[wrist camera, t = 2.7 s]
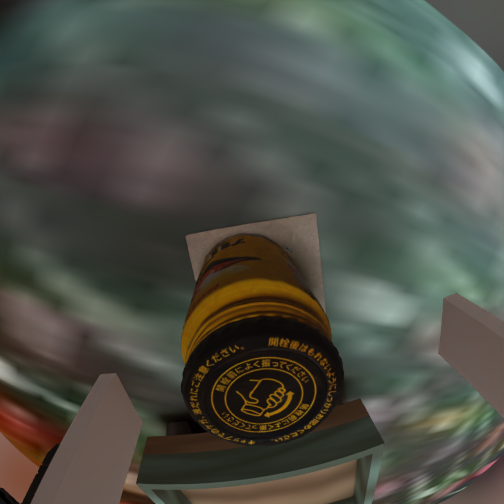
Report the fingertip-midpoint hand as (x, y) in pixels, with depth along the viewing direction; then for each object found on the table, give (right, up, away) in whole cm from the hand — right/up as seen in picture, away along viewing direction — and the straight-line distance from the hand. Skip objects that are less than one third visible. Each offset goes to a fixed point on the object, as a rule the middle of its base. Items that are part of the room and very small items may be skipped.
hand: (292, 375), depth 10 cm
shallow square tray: (0, -15, +14) cm, 21 cm away
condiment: (-1, +3, +10) cm, 10 cm away
